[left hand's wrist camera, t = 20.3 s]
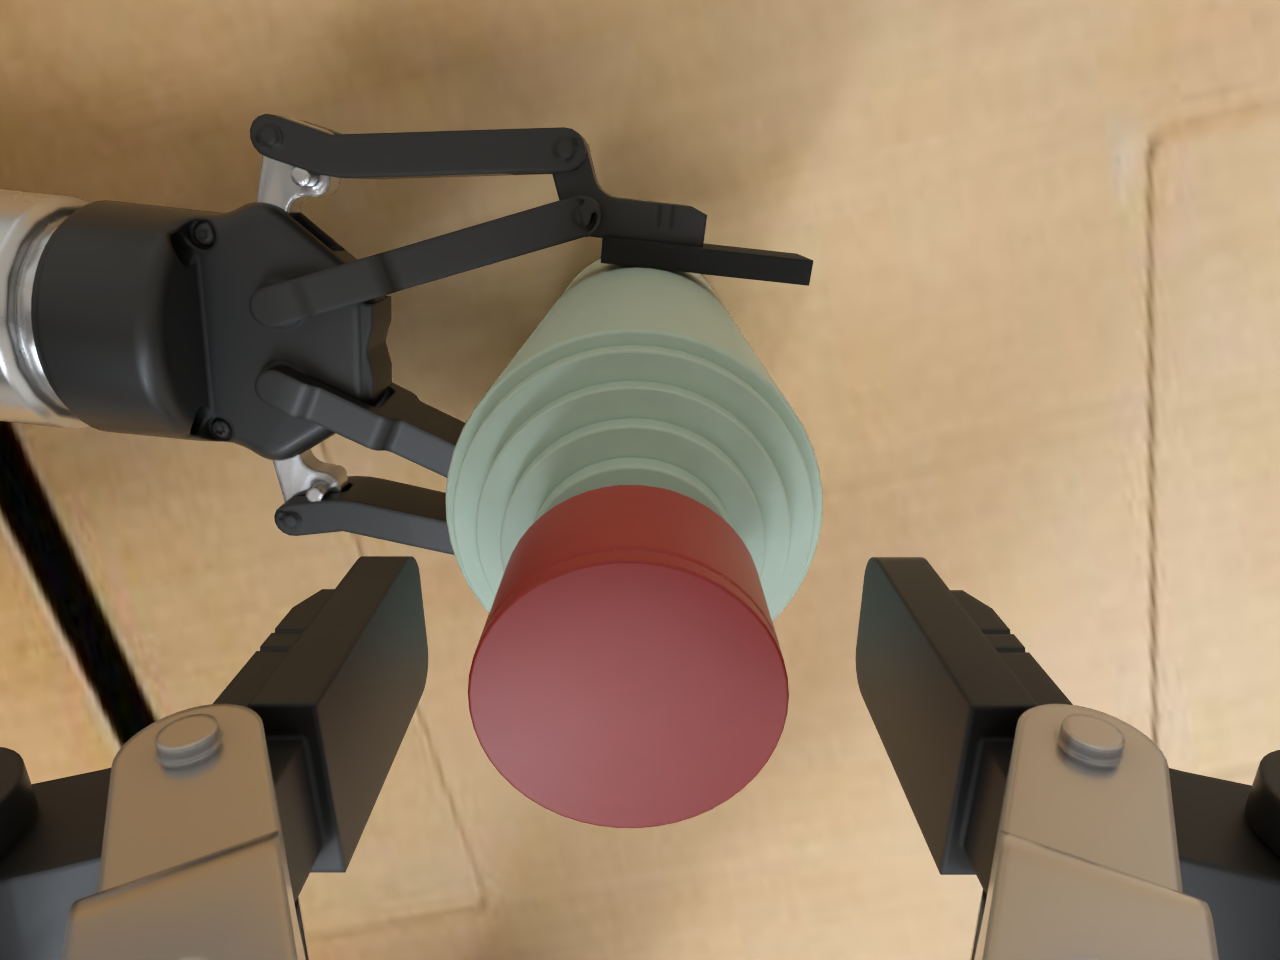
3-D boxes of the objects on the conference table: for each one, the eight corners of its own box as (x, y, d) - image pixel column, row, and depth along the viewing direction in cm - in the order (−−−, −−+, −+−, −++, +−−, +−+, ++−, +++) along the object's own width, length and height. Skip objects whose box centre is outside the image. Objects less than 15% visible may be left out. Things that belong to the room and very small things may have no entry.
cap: (740, 460, 11) (766, 533, 9) (776, 689, 12) (807, 804, 10) (472, 508, 11) (427, 592, 9) (536, 727, 13) (511, 848, 10)
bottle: (556, 423, 34) (386, 888, 11) (547, 250, 31) (305, 410, 9) (724, 421, 34) (882, 886, 11) (728, 247, 31) (944, 403, 9)
